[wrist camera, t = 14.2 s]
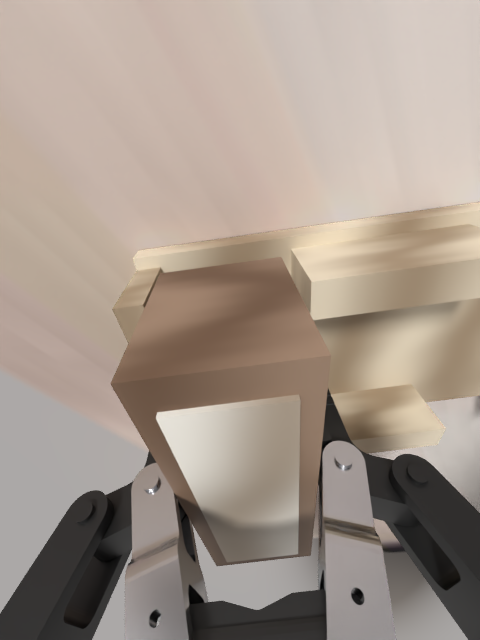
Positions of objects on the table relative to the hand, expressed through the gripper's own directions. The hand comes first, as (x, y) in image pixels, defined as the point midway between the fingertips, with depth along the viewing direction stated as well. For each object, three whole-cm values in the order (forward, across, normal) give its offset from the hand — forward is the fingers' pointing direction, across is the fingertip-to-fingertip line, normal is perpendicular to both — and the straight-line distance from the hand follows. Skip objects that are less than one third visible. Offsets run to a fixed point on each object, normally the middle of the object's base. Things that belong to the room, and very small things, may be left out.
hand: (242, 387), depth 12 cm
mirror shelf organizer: (+3, -6, 0) cm, 7 cm away
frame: (0, 0, 0) cm, 0 cm away
